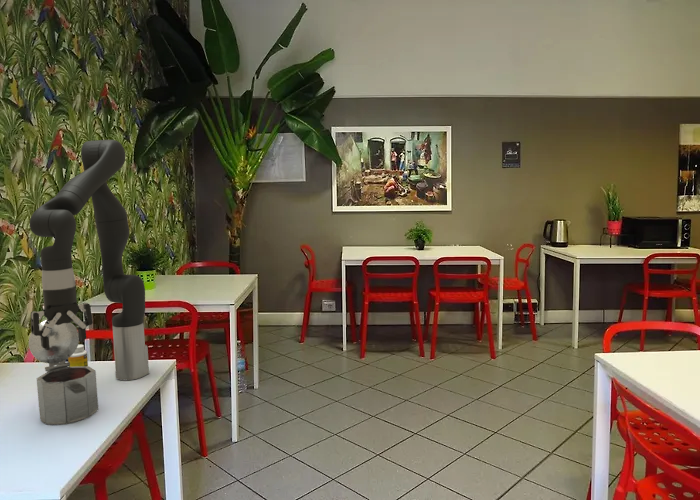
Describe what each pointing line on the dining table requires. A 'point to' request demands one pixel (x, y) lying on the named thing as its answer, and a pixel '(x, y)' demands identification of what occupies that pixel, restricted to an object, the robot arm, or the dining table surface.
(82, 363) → the supplement bottle
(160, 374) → the dining table surface
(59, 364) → the lid
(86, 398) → the pot
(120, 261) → the robot arm
